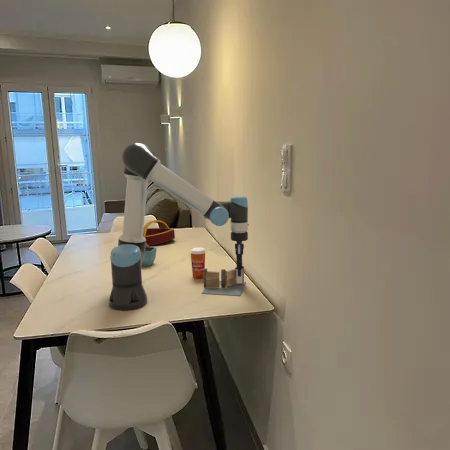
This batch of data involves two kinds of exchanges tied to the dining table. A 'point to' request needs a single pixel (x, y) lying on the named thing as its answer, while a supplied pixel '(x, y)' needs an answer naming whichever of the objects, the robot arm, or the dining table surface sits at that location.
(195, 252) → the paper cup
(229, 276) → the hinged fence panel
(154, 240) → the decorative basket
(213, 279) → the fixed fence panel and posts
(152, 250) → the flower pot
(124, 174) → the robot arm
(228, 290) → the board
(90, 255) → the dining table surface
